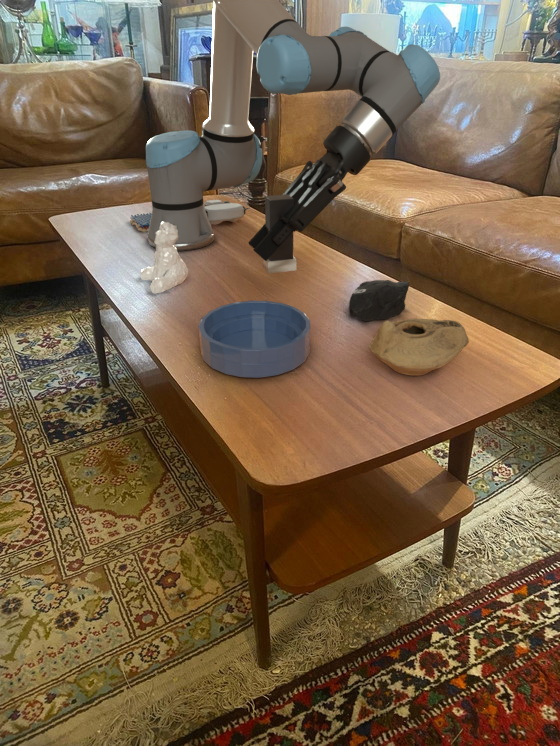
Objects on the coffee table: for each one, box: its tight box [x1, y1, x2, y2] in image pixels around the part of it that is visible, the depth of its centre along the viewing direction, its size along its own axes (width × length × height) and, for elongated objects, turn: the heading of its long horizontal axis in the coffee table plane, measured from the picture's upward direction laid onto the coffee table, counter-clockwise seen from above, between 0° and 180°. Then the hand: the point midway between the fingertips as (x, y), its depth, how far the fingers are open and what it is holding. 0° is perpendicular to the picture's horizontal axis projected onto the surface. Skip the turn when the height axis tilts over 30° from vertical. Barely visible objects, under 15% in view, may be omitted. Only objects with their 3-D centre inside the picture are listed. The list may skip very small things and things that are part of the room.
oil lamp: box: [368, 318, 470, 376], centre depth 78 cm, size 11×15×8 cm
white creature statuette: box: [140, 221, 189, 295], centre depth 104 cm, size 10×9×12 cm
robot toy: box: [203, 199, 251, 225], centre depth 143 cm, size 12×4×15 cm
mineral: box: [348, 279, 410, 322], centre depth 94 cm, size 10×9×6 cm
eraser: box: [262, 194, 297, 274], centre depth 91 cm, size 5×4×12 cm
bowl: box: [198, 300, 311, 379], centre depth 82 cm, size 16×16×5 cm
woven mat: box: [129, 212, 152, 233], centre depth 140 cm, size 10×11×2 cm
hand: (257, 251), depth 91 cm, fingers closed on eraser, 3 cm apart
